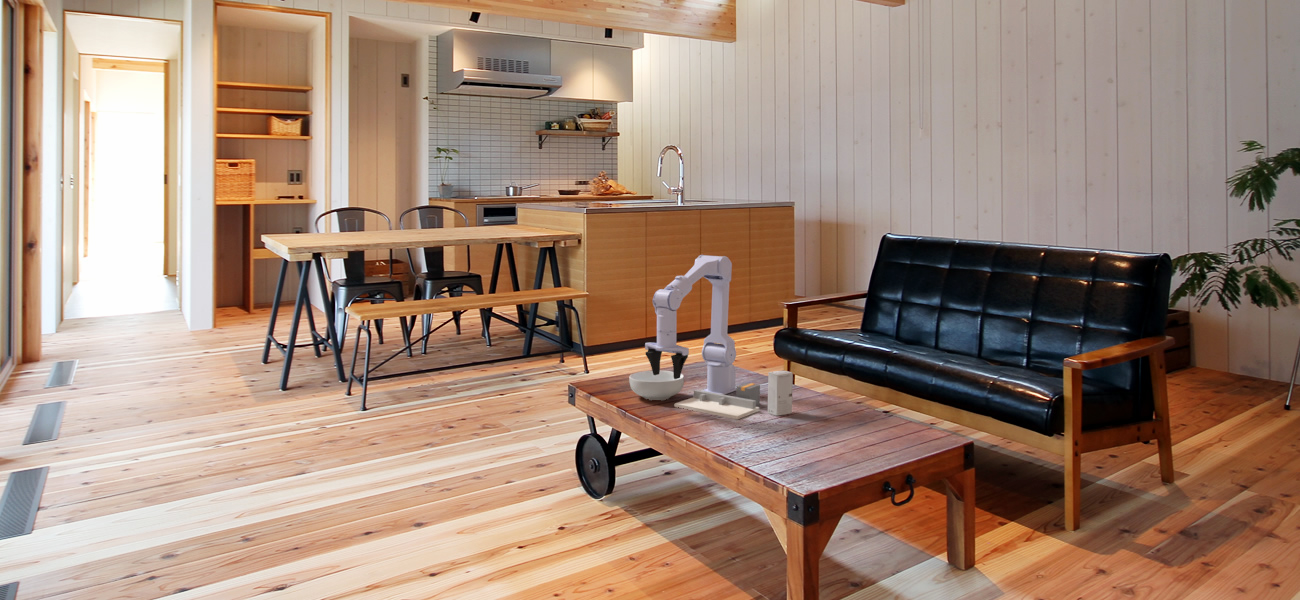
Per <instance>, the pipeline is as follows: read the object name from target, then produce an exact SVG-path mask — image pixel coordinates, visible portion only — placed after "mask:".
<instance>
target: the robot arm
mask: <svg viewBox="0 0 1300 600" xmlns="http://www.w3.org/2000/svg"><path fill="white" fill-rule="evenodd" d="M732 269H733V263H732V260H730V258H729V257H727V256H725V255H723V256H721V255H719V256H718V255H705V254H700V255H698V257H697V258H695V260H694V265H693V266H692V267H691V268H690V269H689V270H688V271H687V272H686V273H685V274H684V275H676V276H675V277H674V280H672V281H671V282H670V283H669V284H667V285H666V286H665V287H664V289H663V288H660V289H658V290H656V291H655V292H654V295H653V298H652V300H651V301H652V305H653V307H654V313H655V314H656V342H650V341H649V342H645V344H644V350H647V351H645V356H646V357H647V359H648V362H649V363H650V368H651V371H653V375H658V374H659V373H660V371H661V358H662V354H663V352H664V353H669V354H670V353H671V354H673V355H671V356H670V359H671V361H672V368H673V369H672V370H673V371H672V372H673V374H674V379H678V378H680V375H681V374H682V371H683V367H684V365H685V363H686V362H687V359H688V357H689V354H690V351H689V349H690V348H689V347H685V346H682V345H679V344H677V323H678V322H677V318H678V317H677V310H678V309H679V308H680V306H681V303H682V301H683V299H684V298H685V297H686V296H687V295H688V294H689V293H690V292H691V291H692V289H693V285H694V284H695V283H696V282H698V281H699V280H700V279H702V278H704V279H706V280H708V282H709V283H710V284H711V285H712V287H711V288H712V293H711V312H710V313H711V319H710V334H708V335H707V336H706V337H705V338H704V339H703V344H702V345H703V346H702V349H701V357H702V359H703V361H704V362H705V365H707V366H706V367H707V369H706V370H707V374H706V375H707V376H706V380H707V381H706V382H707V383H706V384H707V385H706V386H707V388H704V389H701V391H706V392H712V393H717V394H723V395H727V394H730V393H733V392H736V391H737V386H736V381H737V380H736V375H737V373H736V370H737V369H736V367H735V365H734V364H733V363H734V362H735V361H736V357H737V350H736V345H735V344H736V343H735V342H736V340H734V339H733V338H732V337H731V336H730V335H729V334H728V326H729V324H728V323H729V320H728V319H729V302H730V301H729V299H730V297H729V296H730V282H732V272H733V271H732Z"/></svg>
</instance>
